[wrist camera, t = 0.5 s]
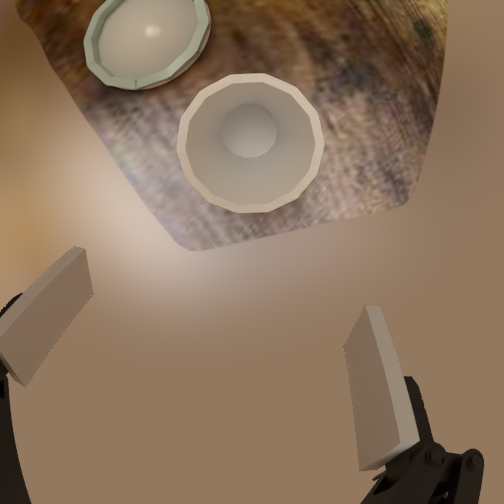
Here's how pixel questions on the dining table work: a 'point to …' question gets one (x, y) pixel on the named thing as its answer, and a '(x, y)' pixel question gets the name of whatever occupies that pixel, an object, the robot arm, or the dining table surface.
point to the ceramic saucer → (145, 41)
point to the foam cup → (250, 143)
